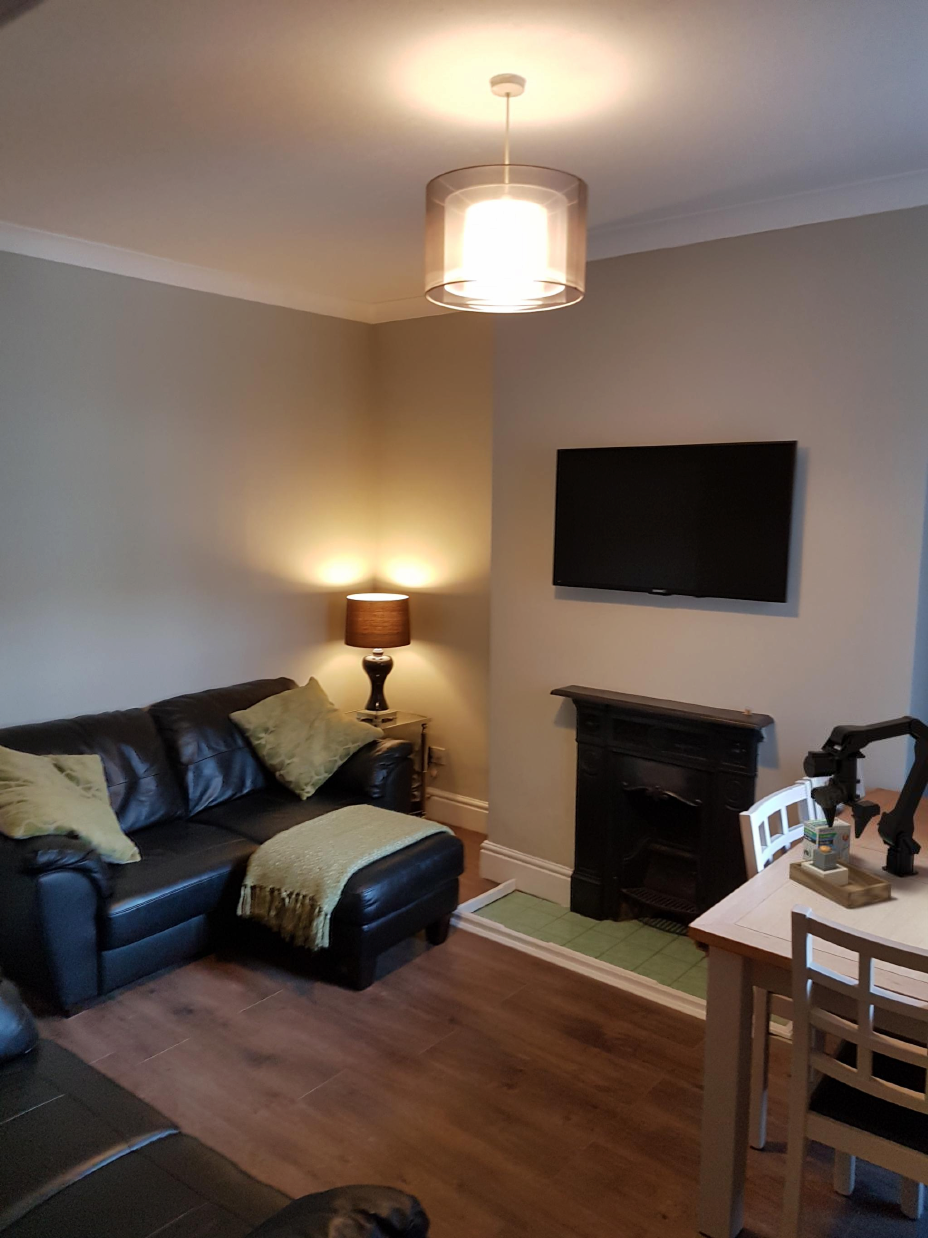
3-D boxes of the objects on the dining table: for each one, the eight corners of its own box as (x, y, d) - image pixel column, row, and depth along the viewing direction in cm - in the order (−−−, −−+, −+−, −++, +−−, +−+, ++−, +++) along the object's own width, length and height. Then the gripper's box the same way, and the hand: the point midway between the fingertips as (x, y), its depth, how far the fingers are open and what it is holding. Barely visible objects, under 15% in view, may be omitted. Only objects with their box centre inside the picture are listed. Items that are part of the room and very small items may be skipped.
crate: (830, 870, 245) (831, 855, 244) (890, 899, 226) (891, 883, 226) (789, 878, 240) (789, 863, 239) (847, 908, 221) (847, 892, 221)
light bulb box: (817, 867, 247) (818, 828, 246) (801, 858, 254) (802, 820, 252) (850, 862, 250) (852, 824, 249) (834, 853, 256) (835, 816, 255)
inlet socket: (824, 873, 241) (825, 858, 241) (847, 884, 234) (848, 869, 234) (800, 877, 238) (801, 863, 238) (823, 889, 231) (823, 874, 231)
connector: (824, 877, 239) (825, 843, 238) (835, 882, 235) (837, 848, 234) (812, 879, 237) (813, 846, 236) (823, 885, 234) (824, 851, 233)
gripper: (795, 770, 243) (794, 826, 245) (848, 789, 226) (847, 849, 228) (827, 764, 247) (826, 820, 249) (882, 782, 230) (881, 842, 232)
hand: (843, 832), depth 239 cm, fingers open, 9 cm apart
